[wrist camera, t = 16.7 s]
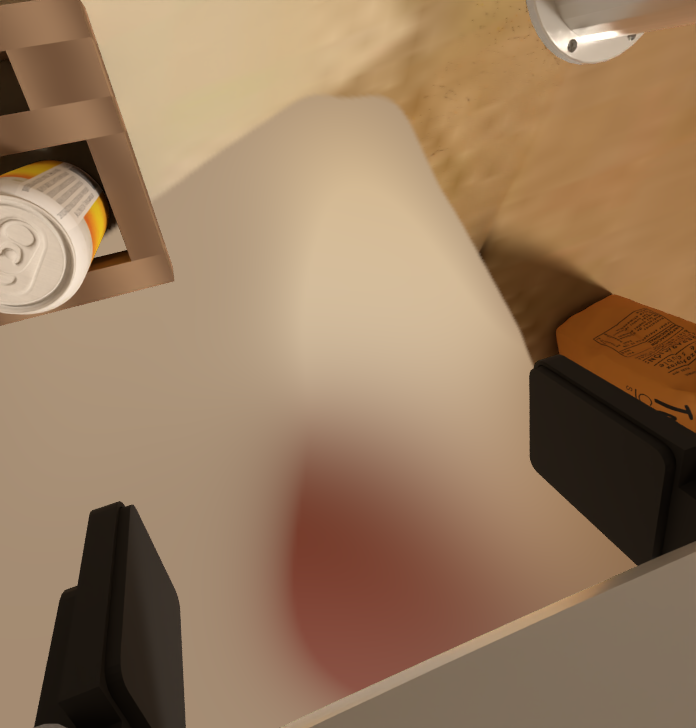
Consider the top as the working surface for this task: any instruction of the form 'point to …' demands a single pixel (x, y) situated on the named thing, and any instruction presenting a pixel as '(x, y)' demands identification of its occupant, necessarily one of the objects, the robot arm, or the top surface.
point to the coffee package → (637, 353)
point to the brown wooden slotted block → (80, 136)
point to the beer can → (47, 234)
